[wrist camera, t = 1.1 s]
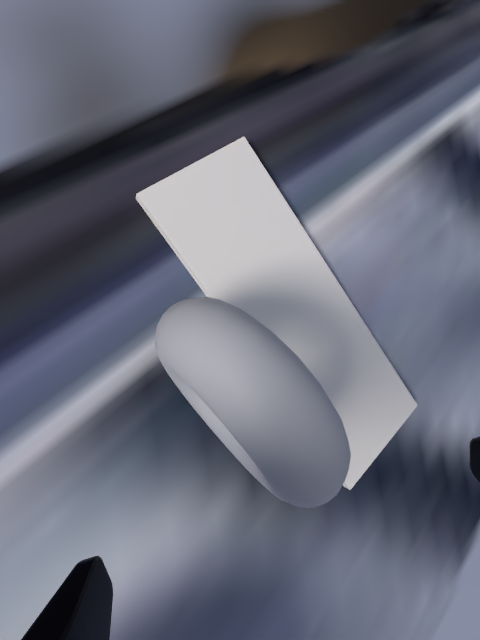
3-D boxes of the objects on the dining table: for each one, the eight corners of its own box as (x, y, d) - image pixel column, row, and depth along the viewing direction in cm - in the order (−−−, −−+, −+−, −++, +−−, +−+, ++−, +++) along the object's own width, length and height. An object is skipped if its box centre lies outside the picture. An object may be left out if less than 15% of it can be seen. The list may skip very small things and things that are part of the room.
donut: (129, 337, 17) (150, 318, 8) (180, 299, 18) (250, 245, 9) (240, 472, 19) (366, 590, 9) (280, 429, 20) (426, 496, 11)
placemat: (344, 486, 21) (350, 490, 21) (135, 198, 18) (136, 193, 17) (410, 404, 24) (417, 405, 23) (240, 142, 21) (244, 136, 20)
